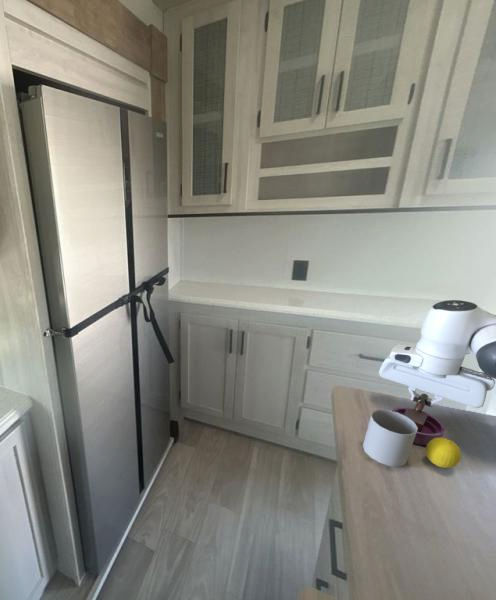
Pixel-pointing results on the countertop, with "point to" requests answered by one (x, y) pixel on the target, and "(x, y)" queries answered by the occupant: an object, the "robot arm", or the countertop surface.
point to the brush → (418, 412)
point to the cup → (389, 437)
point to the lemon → (443, 452)
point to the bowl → (426, 428)
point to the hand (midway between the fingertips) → (421, 402)
